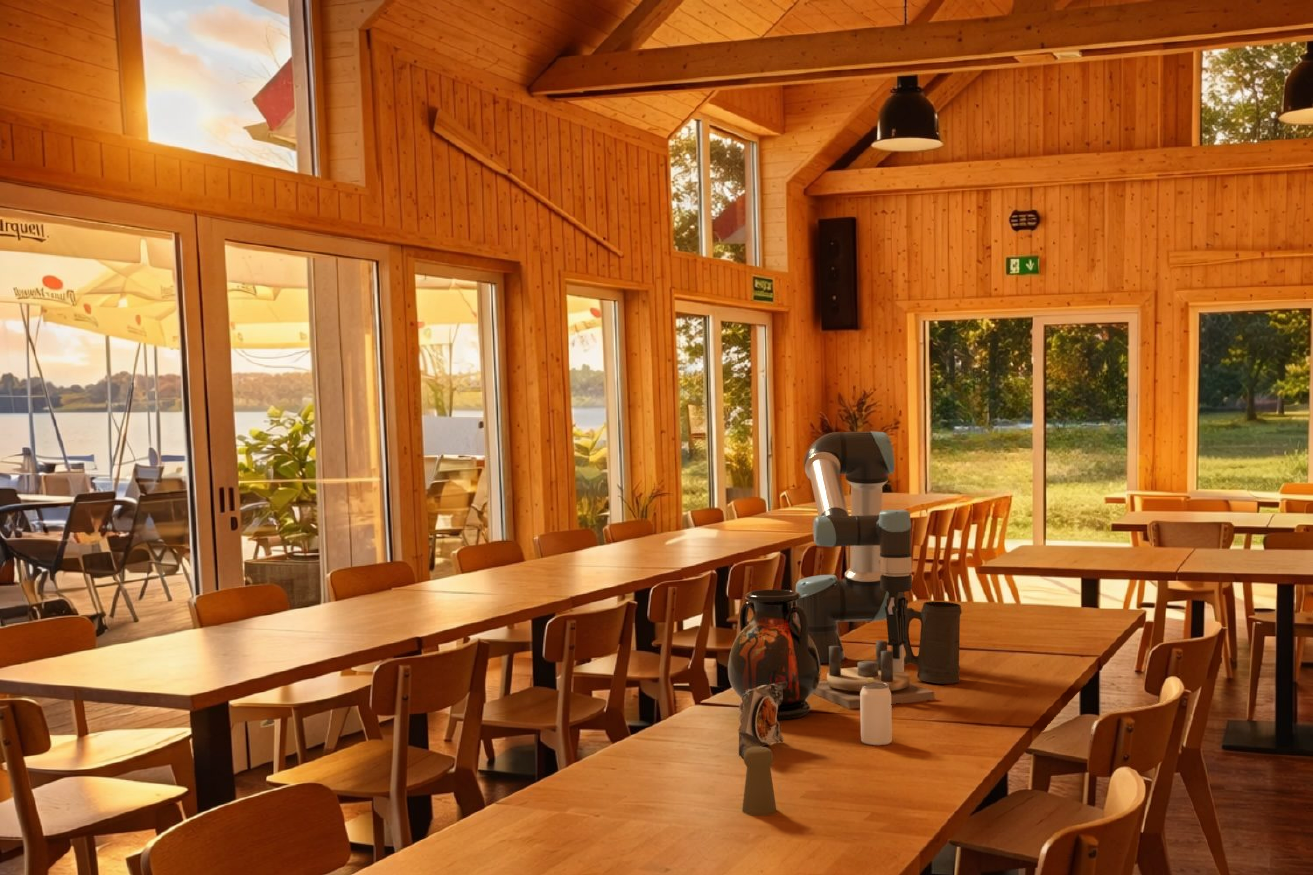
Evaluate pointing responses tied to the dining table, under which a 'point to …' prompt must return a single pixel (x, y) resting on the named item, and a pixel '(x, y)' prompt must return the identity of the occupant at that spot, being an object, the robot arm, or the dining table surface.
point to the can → (876, 714)
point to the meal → (760, 717)
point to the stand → (853, 697)
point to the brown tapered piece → (758, 782)
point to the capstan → (865, 671)
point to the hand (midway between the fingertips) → (897, 671)
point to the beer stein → (936, 642)
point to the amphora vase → (775, 651)
